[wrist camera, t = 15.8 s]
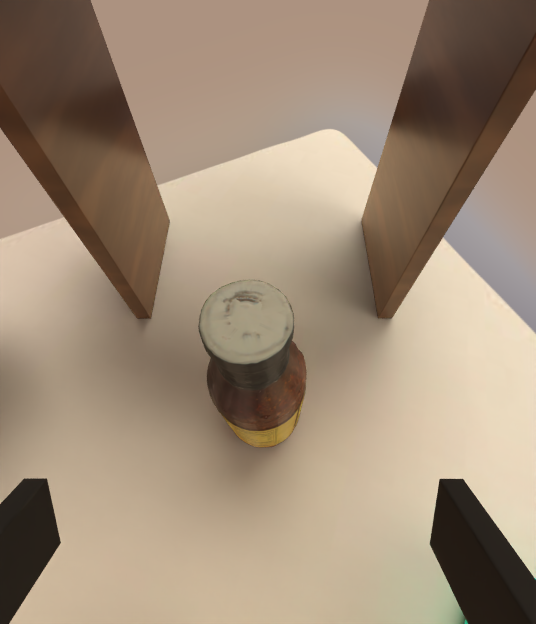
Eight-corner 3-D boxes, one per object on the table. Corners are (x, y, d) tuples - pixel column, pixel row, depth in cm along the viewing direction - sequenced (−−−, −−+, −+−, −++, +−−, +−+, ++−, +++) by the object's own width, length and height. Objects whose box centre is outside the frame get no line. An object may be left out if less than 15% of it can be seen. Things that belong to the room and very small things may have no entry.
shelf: (136, 318, 37) (-254, -224, 10) (158, 220, 44) (-34, -259, 16) (392, 318, 37) (747, -245, 9) (373, 219, 44) (545, -273, 16)
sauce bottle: (256, 369, 34) (238, 227, 17) (310, 405, 32) (354, 288, 15) (214, 426, 32) (142, 327, 14) (271, 469, 30) (268, 416, 12)
